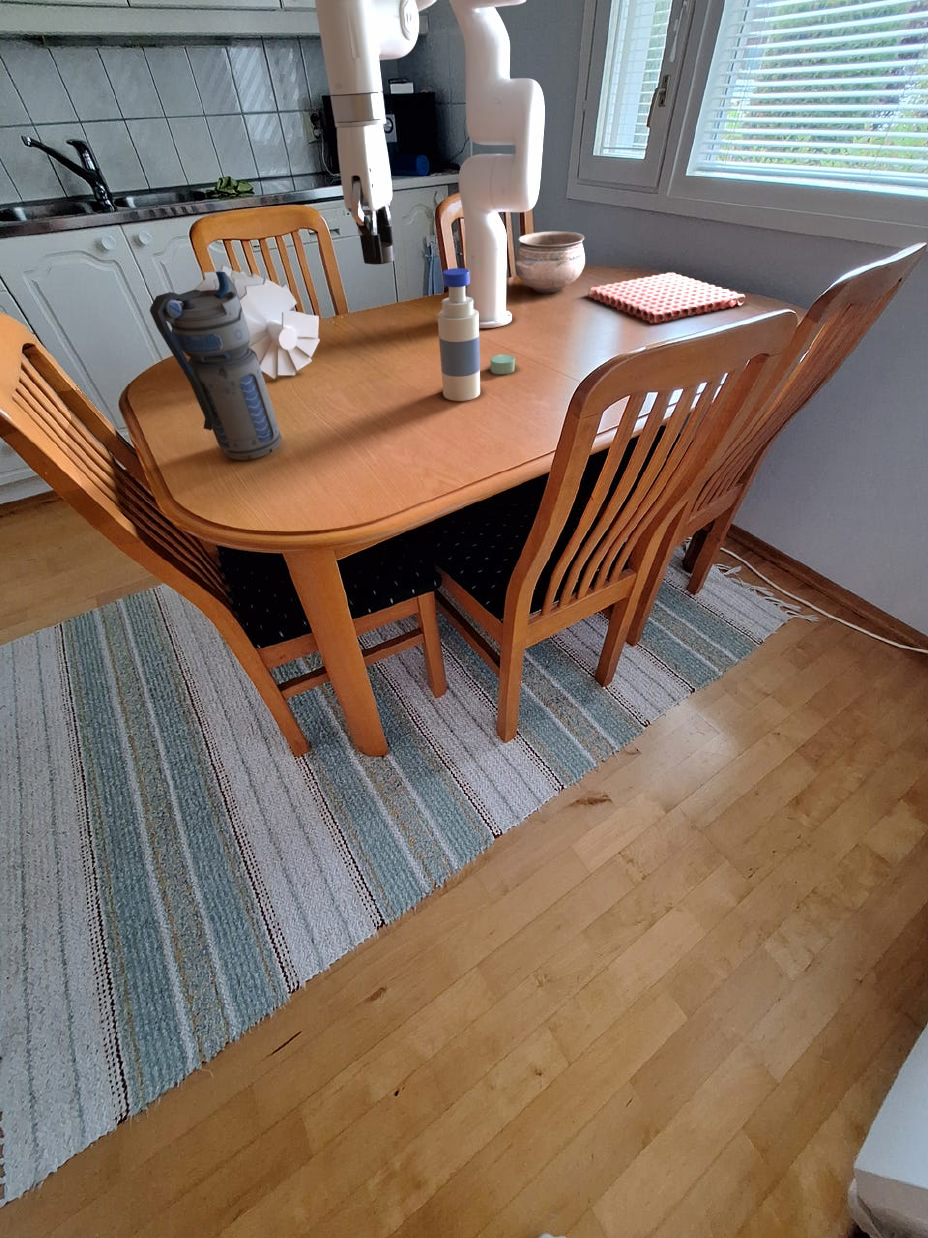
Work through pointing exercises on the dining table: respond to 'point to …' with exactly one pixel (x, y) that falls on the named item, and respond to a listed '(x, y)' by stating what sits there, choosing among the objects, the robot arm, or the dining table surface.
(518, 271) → the cooking pot
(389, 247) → the brown disc
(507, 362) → the sage cylinder
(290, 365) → the spiral staircase
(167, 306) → the beverage bottle
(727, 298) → the pink perforated square mat
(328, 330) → the dining table surface
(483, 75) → the robot arm
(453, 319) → the cream bottle
